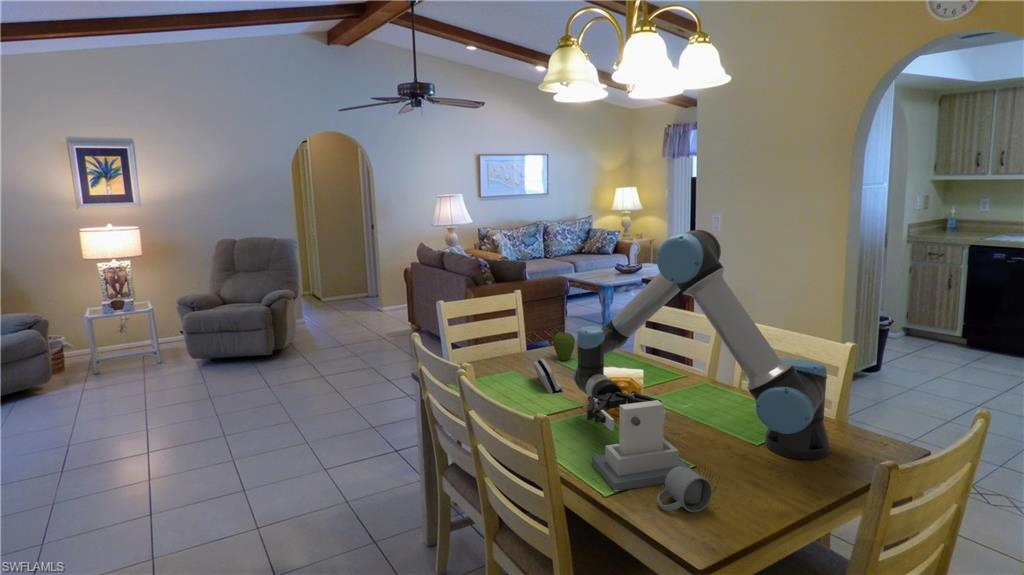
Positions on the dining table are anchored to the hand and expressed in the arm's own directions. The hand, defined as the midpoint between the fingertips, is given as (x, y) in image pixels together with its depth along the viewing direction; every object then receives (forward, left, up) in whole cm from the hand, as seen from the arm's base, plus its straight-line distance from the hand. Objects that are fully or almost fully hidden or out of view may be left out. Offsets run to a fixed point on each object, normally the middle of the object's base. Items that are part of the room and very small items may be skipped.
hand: (638, 421), depth 145 cm
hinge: (+50, -42, -13) cm, 67 cm away
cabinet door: (-1, 0, -10) cm, 11 cm away
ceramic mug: (-14, +10, -13) cm, 22 cm away
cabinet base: (-1, 0, -12) cm, 13 cm away
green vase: (+58, -71, -13) cm, 92 cm away
